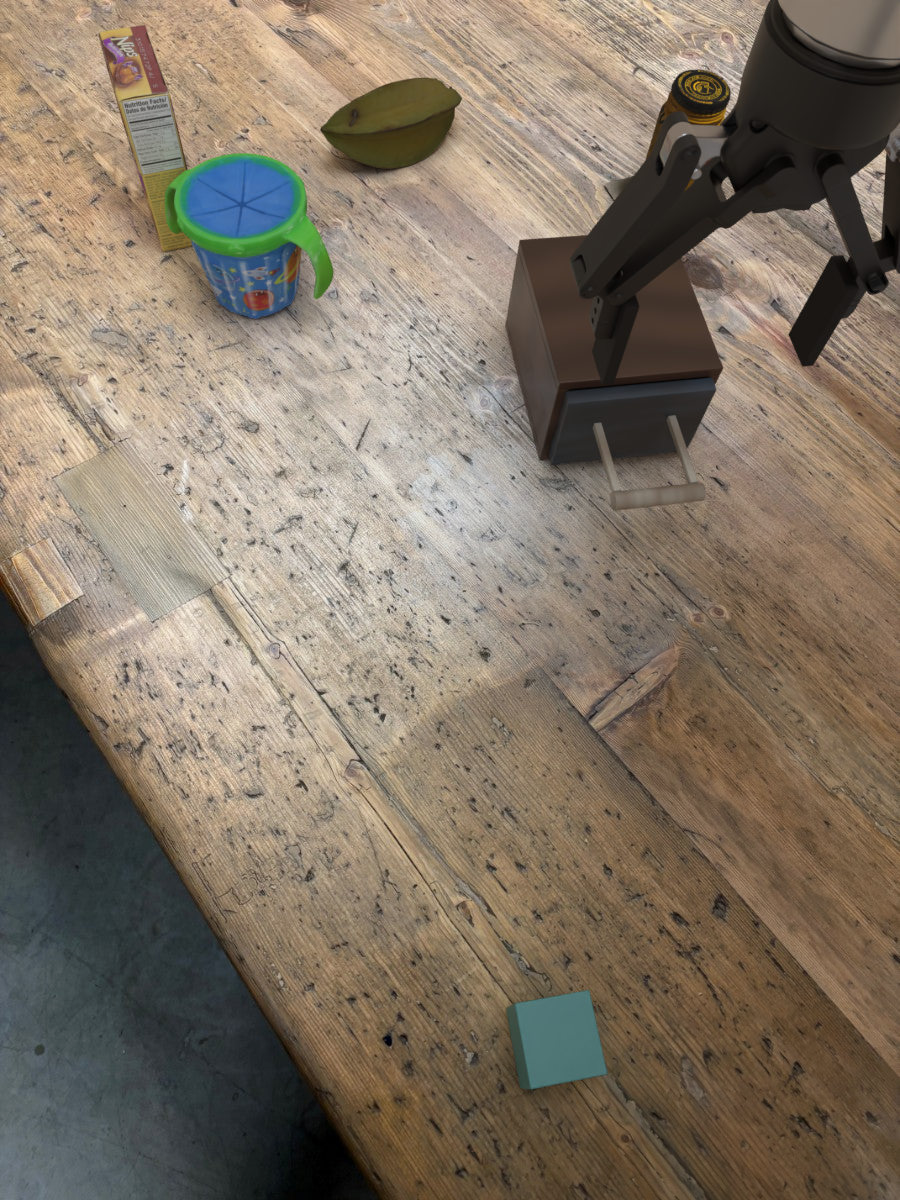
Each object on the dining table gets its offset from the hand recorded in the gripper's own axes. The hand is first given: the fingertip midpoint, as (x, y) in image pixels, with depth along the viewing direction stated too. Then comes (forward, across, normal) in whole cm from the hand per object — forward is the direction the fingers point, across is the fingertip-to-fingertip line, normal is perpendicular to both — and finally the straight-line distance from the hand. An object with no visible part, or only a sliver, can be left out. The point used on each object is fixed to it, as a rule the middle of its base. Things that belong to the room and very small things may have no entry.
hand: (702, 359), depth 59 cm
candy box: (+19, +35, -37) cm, 55 cm away
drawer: (+17, 0, -8) cm, 19 cm away
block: (+18, +15, +36) cm, 44 cm away
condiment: (+19, -12, -36) cm, 42 cm away
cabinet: (+18, 0, -14) cm, 23 cm away
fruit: (+19, +13, -46) cm, 51 cm away
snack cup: (+19, +28, -27) cm, 43 cm away
